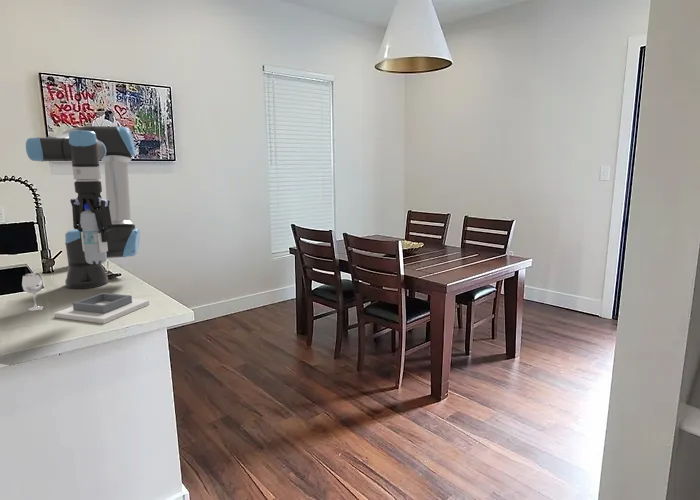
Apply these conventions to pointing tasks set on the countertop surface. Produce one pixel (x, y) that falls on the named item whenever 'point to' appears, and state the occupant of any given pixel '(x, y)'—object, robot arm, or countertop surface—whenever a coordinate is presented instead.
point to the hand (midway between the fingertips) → (95, 251)
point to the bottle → (91, 237)
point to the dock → (102, 308)
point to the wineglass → (32, 287)
